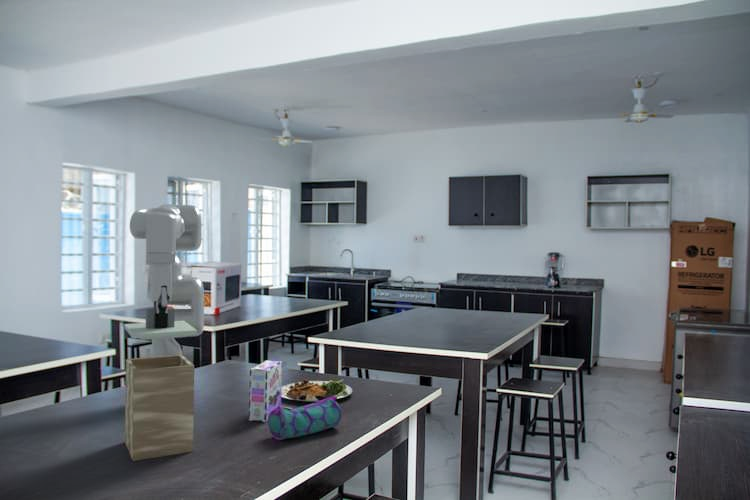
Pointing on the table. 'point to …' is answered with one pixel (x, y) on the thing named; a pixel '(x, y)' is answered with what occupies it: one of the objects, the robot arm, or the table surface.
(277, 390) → the candy box
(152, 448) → the crate
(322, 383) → the plate of food
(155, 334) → the lid
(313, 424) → the pencil case
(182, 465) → the table surface
